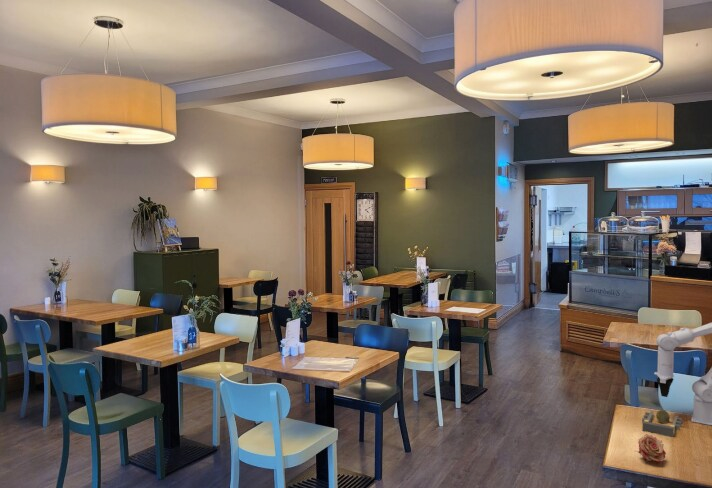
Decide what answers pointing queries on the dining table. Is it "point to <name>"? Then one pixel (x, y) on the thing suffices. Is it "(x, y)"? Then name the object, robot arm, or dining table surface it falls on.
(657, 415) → the lime
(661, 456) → the flower
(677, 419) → the grey u-shaped block
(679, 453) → the dining table surface
